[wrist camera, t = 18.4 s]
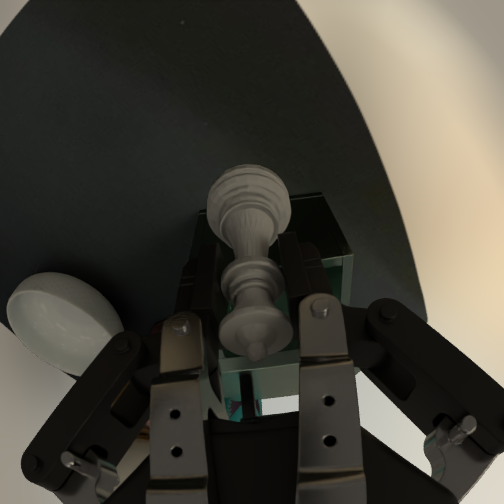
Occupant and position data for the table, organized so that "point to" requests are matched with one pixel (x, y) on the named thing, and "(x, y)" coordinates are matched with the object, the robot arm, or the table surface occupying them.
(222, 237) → the chess piece
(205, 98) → the table surface
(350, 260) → the dark green box
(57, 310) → the cereal bowl
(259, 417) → the dark box lid
